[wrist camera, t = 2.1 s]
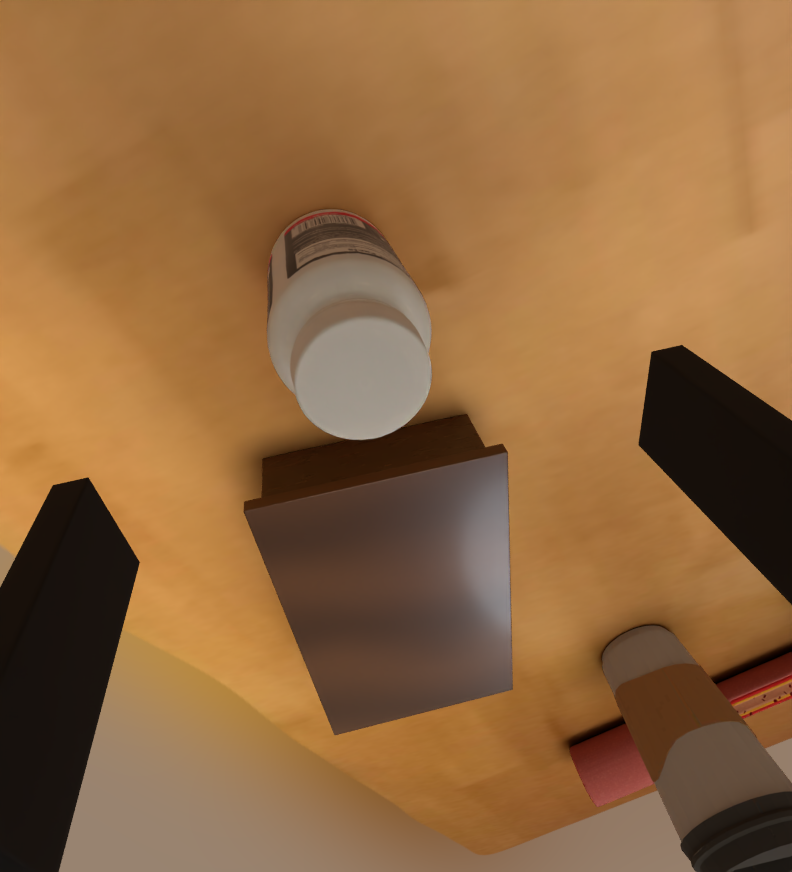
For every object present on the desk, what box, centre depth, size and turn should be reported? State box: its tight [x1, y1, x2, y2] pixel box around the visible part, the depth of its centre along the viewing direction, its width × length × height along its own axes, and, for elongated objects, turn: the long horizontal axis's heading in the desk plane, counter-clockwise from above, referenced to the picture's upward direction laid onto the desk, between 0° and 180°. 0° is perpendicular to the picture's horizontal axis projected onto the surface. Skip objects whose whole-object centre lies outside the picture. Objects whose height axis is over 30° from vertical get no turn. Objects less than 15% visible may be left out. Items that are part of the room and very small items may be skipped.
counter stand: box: [244, 414, 513, 735], centre depth 32 cm, size 20×12×4 cm, turn 9°
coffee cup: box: [602, 625, 792, 872], centre depth 39 cm, size 8×8×15 cm
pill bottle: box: [267, 209, 432, 440], centre depth 20 cm, size 5×5×10 cm
